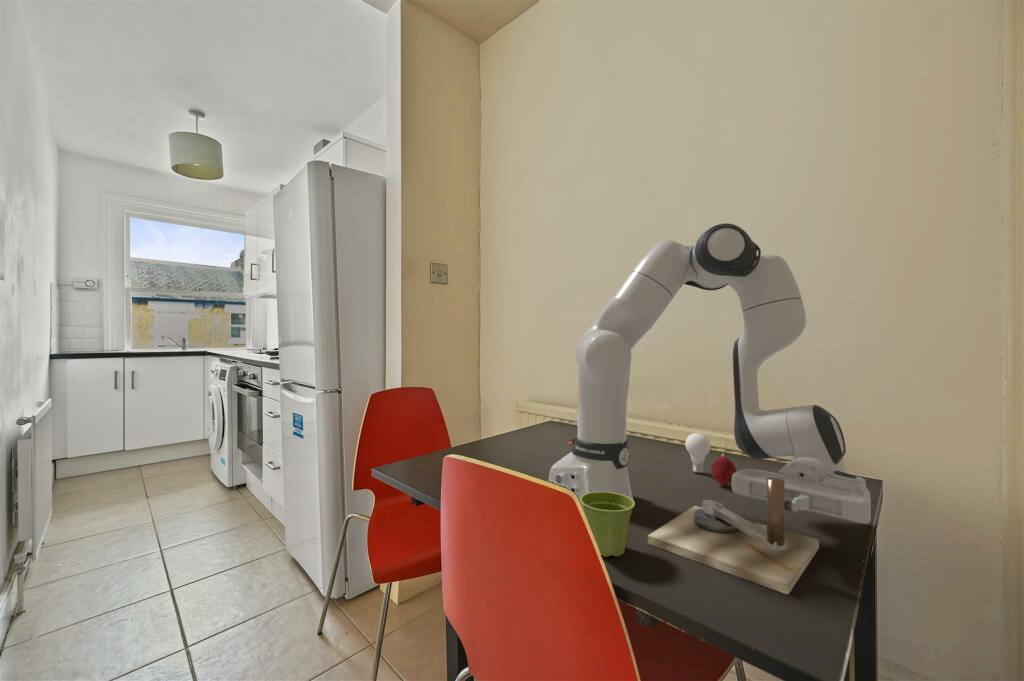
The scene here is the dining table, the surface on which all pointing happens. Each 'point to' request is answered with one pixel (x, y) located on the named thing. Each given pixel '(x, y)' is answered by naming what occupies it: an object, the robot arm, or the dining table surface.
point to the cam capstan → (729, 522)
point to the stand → (738, 551)
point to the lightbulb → (697, 450)
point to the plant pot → (608, 520)
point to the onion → (723, 470)
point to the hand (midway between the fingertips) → (784, 505)
